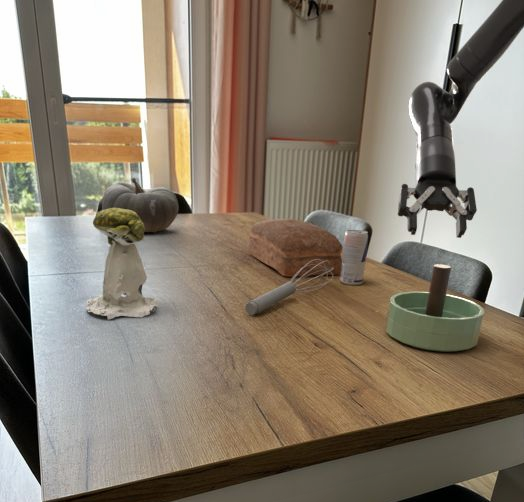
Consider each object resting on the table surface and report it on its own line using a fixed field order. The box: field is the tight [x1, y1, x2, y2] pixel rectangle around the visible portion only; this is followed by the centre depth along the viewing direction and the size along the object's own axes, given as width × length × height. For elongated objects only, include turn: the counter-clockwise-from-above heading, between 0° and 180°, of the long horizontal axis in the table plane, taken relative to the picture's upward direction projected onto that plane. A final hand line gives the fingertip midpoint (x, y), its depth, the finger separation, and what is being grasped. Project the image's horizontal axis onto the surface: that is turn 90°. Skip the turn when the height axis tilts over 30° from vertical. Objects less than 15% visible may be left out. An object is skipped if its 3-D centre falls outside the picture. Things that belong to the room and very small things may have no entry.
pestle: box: [424, 263, 452, 317], centre depth 88 cm, size 4×4×12 cm
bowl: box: [385, 291, 486, 353], centre depth 89 cm, size 15×15×6 cm
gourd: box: [101, 177, 180, 233], centre depth 172 cm, size 25×25×17 cm
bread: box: [246, 218, 343, 278], centre depth 136 cm, size 17×29×11 cm, turn 20°
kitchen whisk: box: [242, 259, 334, 318], centre depth 106 cm, size 6×34×6 cm, turn 147°
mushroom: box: [85, 208, 158, 320], centre depth 93 cm, size 12×13×18 cm
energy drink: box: [339, 229, 369, 286], centre depth 120 cm, size 5×5×12 cm
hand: (437, 233), depth 97 cm, fingers open, 8 cm apart
